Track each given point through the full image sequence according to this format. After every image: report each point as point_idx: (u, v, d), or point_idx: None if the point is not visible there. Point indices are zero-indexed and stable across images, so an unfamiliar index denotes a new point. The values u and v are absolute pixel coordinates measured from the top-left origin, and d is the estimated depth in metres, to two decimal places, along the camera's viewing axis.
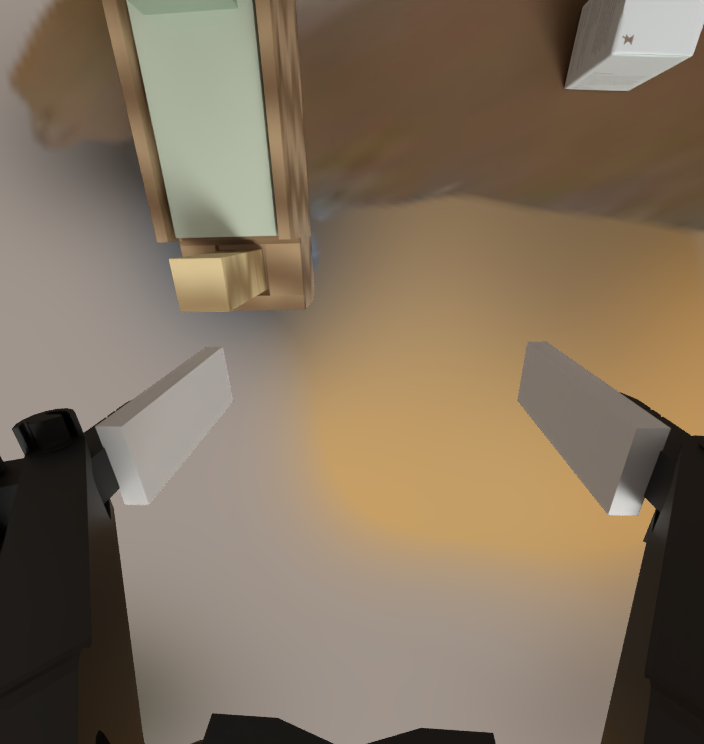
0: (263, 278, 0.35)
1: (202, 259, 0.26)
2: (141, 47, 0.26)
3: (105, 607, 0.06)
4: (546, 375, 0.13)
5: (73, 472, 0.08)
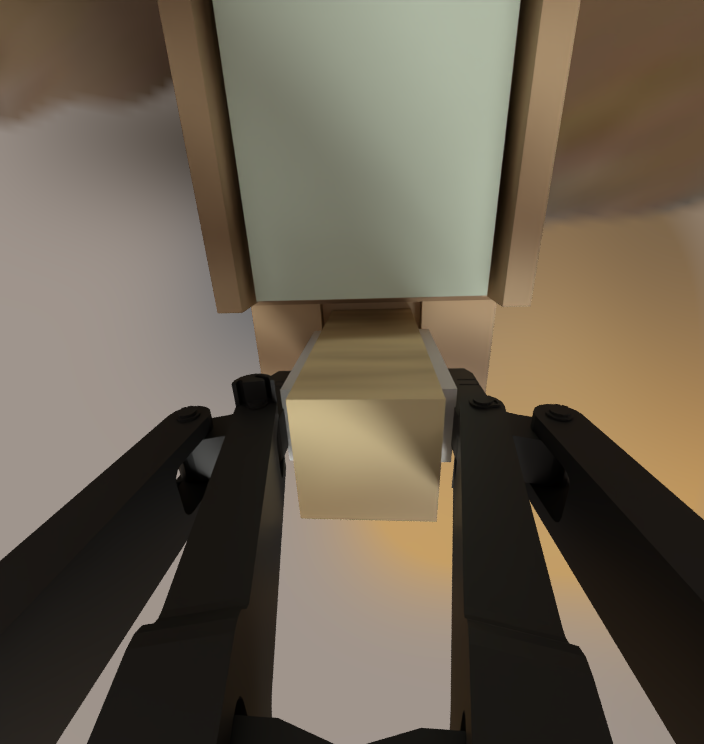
0: None
1: (387, 402, 0.09)
2: None
3: (264, 565, 0.06)
4: None
5: (263, 431, 0.09)
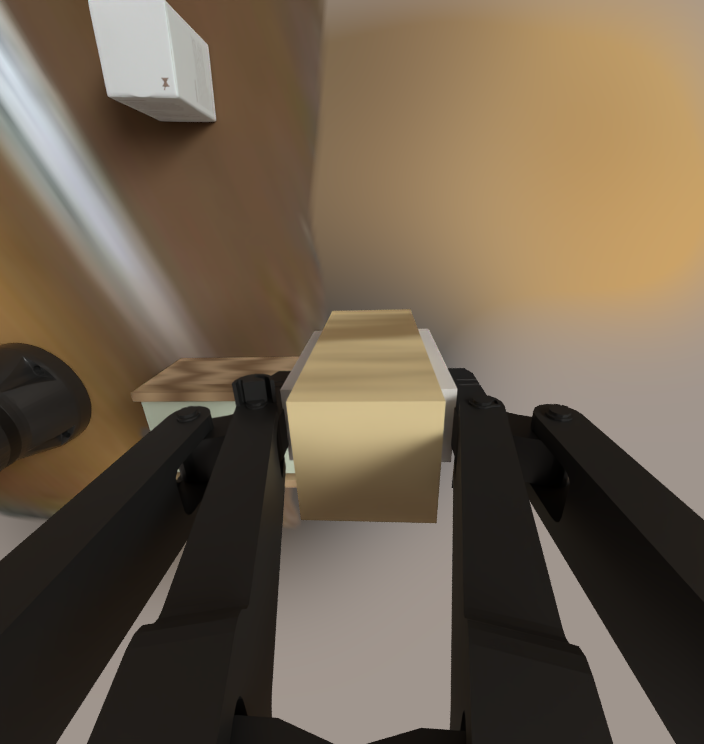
0: None
1: (387, 404, 0.09)
2: None
3: (265, 565, 0.06)
4: None
5: (263, 431, 0.09)
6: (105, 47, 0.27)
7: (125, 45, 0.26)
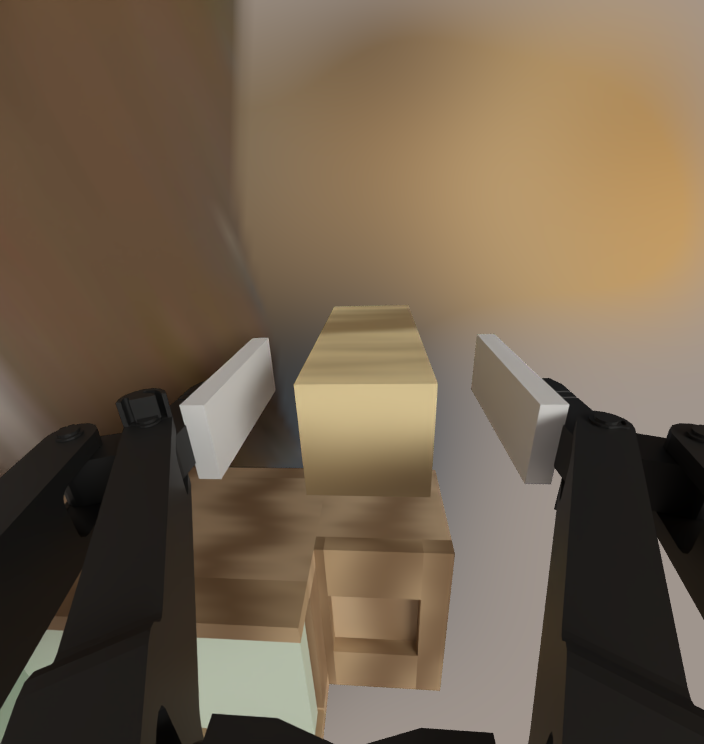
0: None
1: (385, 386, 0.10)
2: None
3: (176, 580, 0.06)
4: (488, 364, 0.14)
5: (160, 448, 0.08)
6: None
7: None
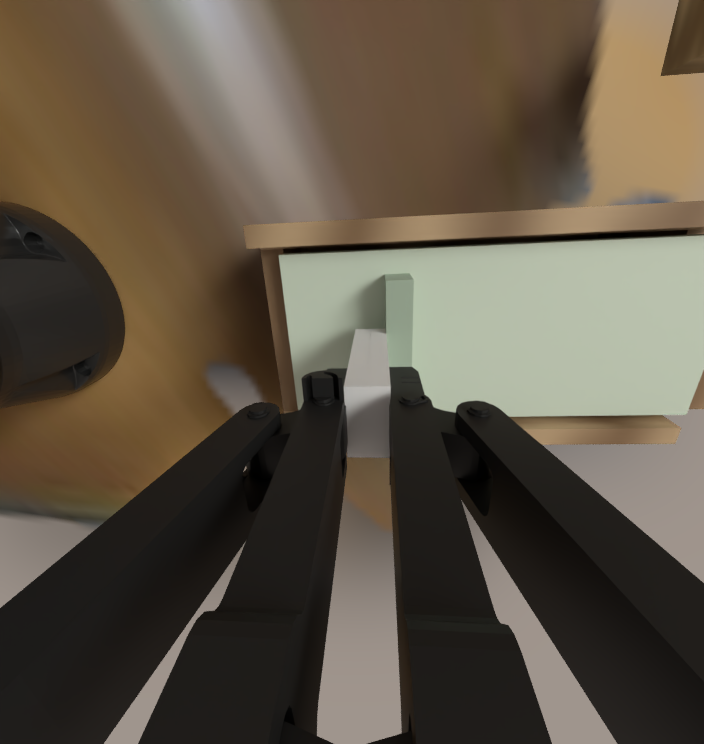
0: None
1: None
2: None
3: (321, 567, 0.06)
4: None
5: (329, 430, 0.09)
6: None
7: None
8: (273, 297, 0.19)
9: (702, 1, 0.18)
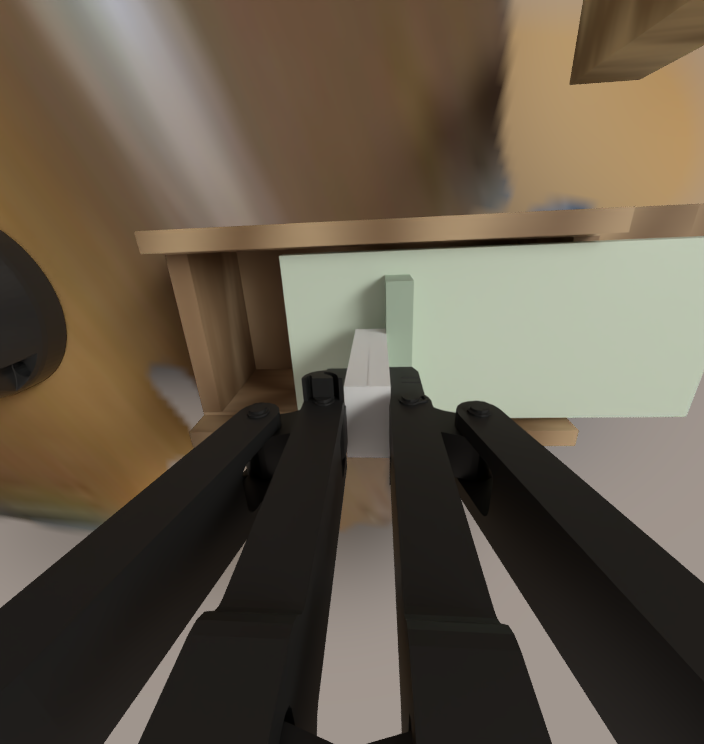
0: None
1: None
2: None
3: (321, 567, 0.06)
4: None
5: (328, 430, 0.09)
6: None
7: None
8: (182, 301, 0.19)
9: (596, 13, 0.18)
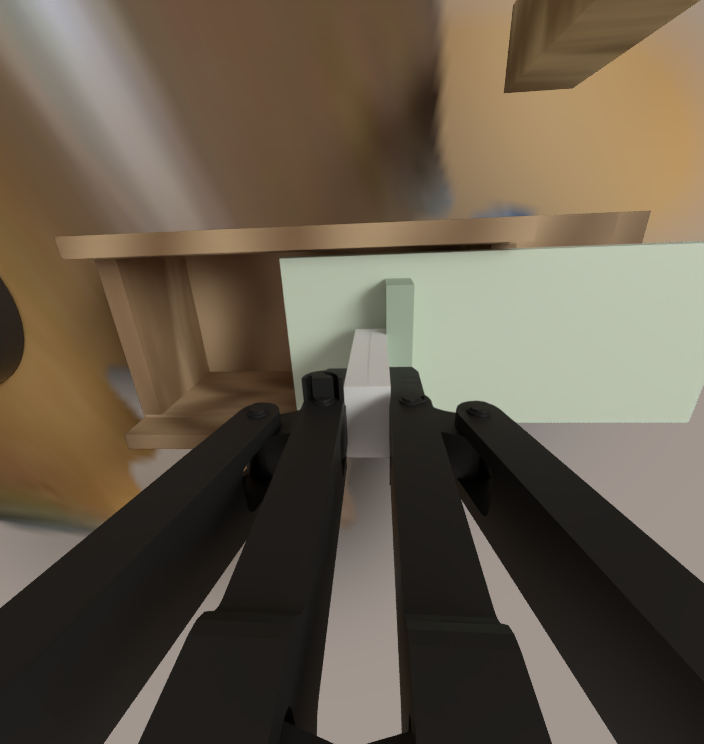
0: None
1: None
2: None
3: (321, 567, 0.06)
4: None
5: (329, 430, 0.09)
6: None
7: None
8: (114, 305, 0.20)
9: (521, 23, 0.18)
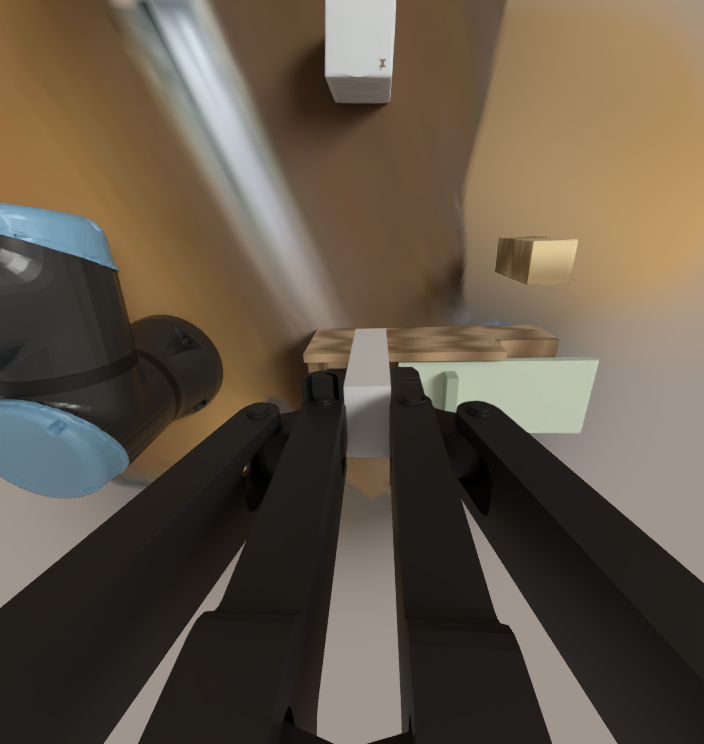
0: None
1: (562, 241, 0.32)
2: None
3: (321, 567, 0.06)
4: None
5: (328, 430, 0.09)
6: (333, 31, 0.30)
7: (352, 29, 0.29)
8: None
9: (502, 252, 0.40)
